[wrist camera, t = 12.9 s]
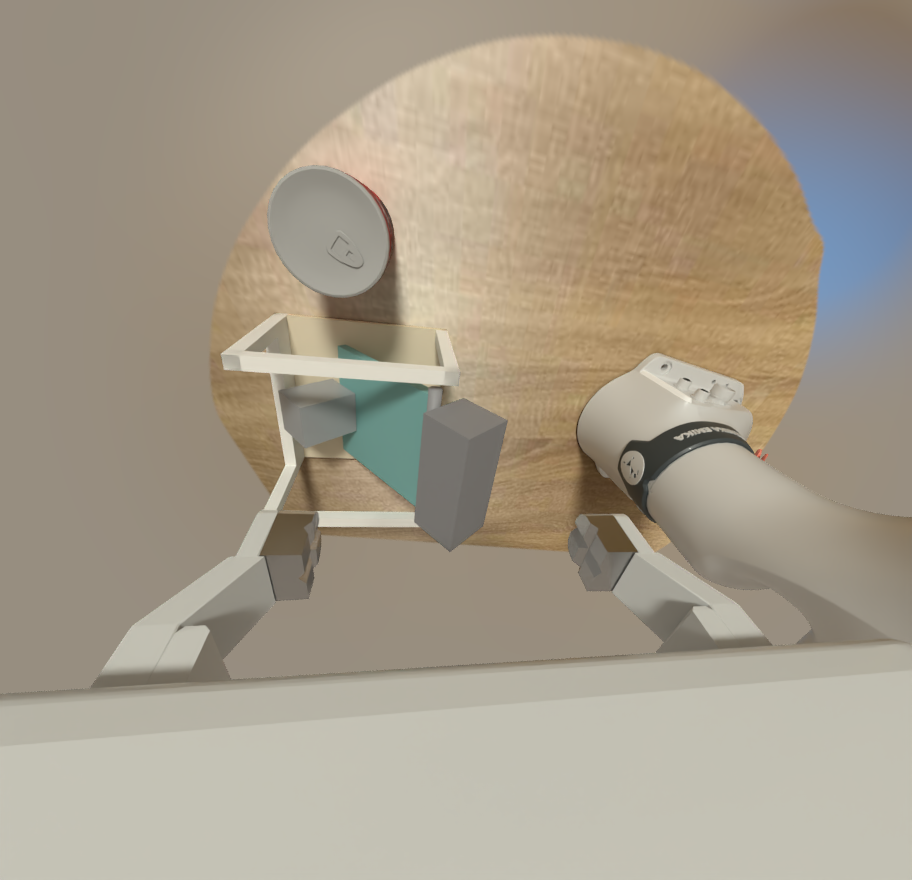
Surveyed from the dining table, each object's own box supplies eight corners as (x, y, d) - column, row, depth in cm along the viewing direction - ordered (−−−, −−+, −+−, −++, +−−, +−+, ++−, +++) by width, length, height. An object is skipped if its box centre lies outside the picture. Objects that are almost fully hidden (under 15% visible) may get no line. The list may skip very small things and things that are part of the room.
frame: (446, 329, 38) (460, 372, 28) (432, 458, 48) (438, 527, 37) (275, 312, 36) (220, 353, 25) (295, 453, 45) (261, 526, 34)
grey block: (355, 393, 37) (299, 408, 33) (356, 430, 39) (305, 448, 35) (332, 378, 39) (278, 390, 35) (334, 414, 42) (284, 429, 38)
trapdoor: (510, 409, 28) (471, 427, 24) (481, 533, 35) (448, 559, 32) (361, 337, 38) (320, 343, 35) (363, 444, 45) (329, 457, 42)
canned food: (379, 289, 36) (369, 316, 26) (298, 252, 33) (255, 267, 24) (407, 208, 32) (406, 206, 23) (318, 159, 30) (278, 135, 20)
